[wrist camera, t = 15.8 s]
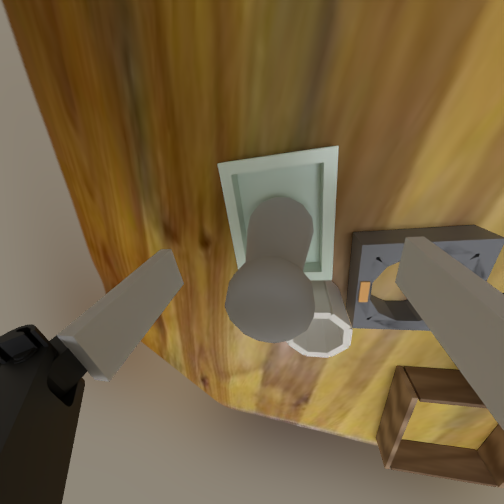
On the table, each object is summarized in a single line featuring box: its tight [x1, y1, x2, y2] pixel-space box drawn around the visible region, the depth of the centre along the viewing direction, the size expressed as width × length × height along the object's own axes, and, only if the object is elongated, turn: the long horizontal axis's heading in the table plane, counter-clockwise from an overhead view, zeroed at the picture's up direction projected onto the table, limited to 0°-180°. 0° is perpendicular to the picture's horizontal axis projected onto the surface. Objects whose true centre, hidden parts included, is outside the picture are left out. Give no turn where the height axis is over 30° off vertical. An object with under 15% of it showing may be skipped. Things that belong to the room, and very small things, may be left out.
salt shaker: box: [225, 197, 315, 343], centre depth 14 cm, size 6×6×13 cm
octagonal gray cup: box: [286, 280, 352, 358], centre depth 22 cm, size 6×6×6 cm
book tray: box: [376, 366, 504, 488], centre depth 28 cm, size 21×16×4 cm
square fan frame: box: [346, 225, 504, 331], centre depth 20 cm, size 10×10×3 cm
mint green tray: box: [218, 146, 339, 280], centre depth 19 cm, size 12×10×2 cm
